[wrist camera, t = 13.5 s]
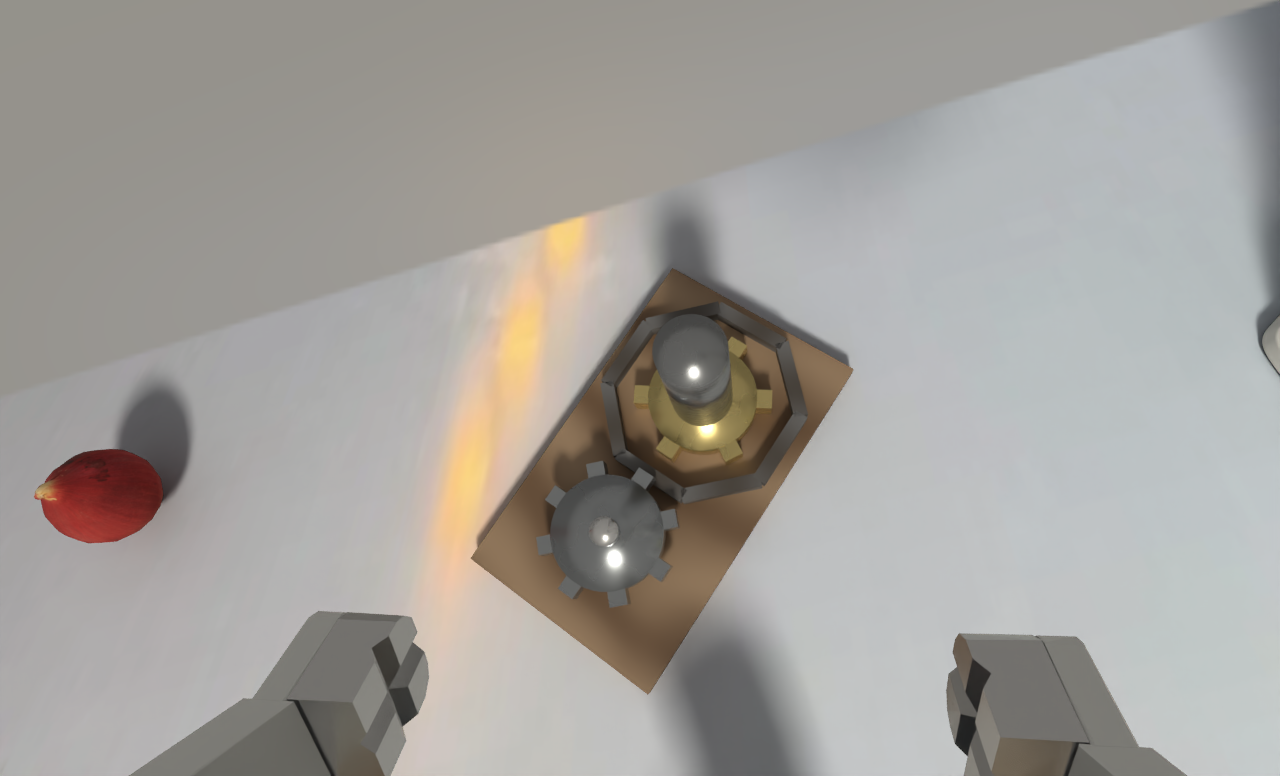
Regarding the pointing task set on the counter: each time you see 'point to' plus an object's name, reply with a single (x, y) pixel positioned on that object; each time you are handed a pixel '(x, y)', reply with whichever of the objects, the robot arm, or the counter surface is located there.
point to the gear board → (664, 482)
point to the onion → (101, 495)
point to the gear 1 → (608, 534)
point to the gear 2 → (701, 390)
